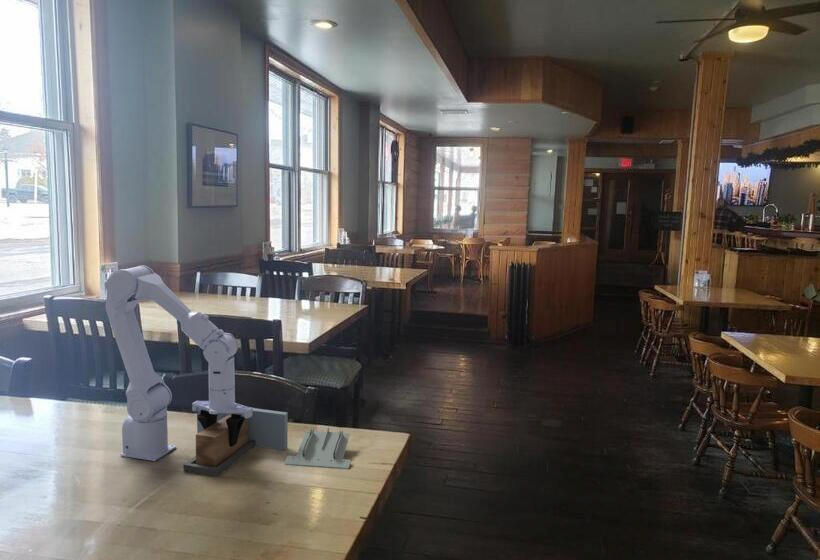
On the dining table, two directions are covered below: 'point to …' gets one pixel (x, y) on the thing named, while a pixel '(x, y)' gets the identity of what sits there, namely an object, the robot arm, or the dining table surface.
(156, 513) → the dining table surface
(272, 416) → the wall board
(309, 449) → the metal bracket
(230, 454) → the brown wooden block
